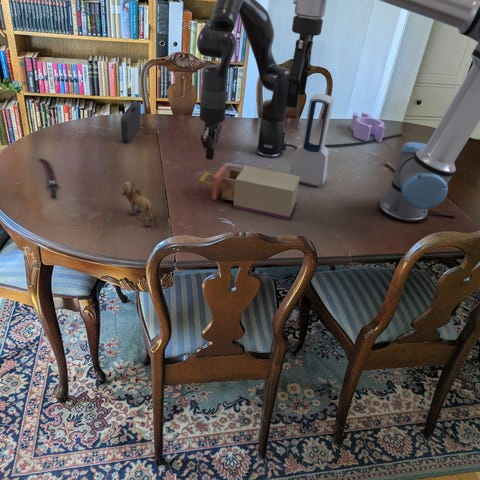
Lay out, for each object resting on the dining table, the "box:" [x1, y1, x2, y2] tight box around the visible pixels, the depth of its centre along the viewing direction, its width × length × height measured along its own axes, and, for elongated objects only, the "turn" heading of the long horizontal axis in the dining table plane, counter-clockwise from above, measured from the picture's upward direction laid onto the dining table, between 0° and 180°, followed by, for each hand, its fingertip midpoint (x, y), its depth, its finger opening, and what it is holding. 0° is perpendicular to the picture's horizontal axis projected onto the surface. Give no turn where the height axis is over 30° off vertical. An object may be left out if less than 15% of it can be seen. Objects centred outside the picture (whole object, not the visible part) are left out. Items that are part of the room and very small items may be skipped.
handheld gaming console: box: [120, 101, 141, 143], centre depth 188 cm, size 23×3×10 cm, turn 178°
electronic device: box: [288, 93, 335, 188], centre depth 159 cm, size 12×8×30 cm, turn 71°
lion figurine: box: [119, 181, 159, 227], centre depth 134 cm, size 15×5×9 cm, turn 50°
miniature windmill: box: [285, 63, 300, 129], centre depth 209 cm, size 9×8×30 cm
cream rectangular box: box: [232, 165, 300, 221], centre depth 146 cm, size 18×11×10 cm, turn 74°
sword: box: [40, 158, 59, 198], centre depth 151 cm, size 31×3×1 cm, turn 26°
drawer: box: [197, 164, 242, 202], centre depth 148 cm, size 22×10×8 cm, turn 74°
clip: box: [349, 112, 386, 143], centre depth 214 cm, size 20×12×7 cm, turn 11°
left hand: (209, 158), depth 146 cm, fingers closed
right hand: (295, 100), depth 129 cm, fingers open, 13 cm apart
